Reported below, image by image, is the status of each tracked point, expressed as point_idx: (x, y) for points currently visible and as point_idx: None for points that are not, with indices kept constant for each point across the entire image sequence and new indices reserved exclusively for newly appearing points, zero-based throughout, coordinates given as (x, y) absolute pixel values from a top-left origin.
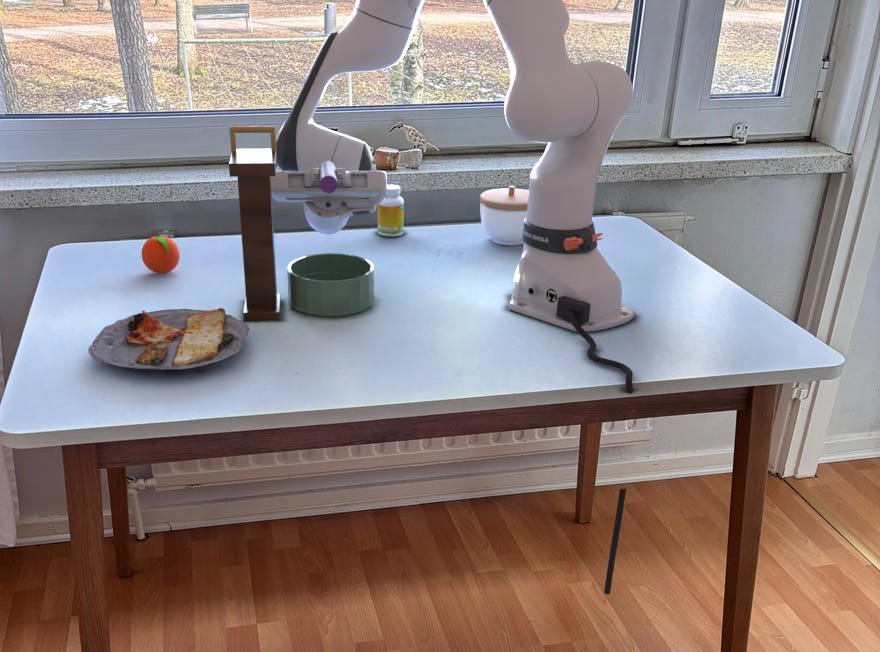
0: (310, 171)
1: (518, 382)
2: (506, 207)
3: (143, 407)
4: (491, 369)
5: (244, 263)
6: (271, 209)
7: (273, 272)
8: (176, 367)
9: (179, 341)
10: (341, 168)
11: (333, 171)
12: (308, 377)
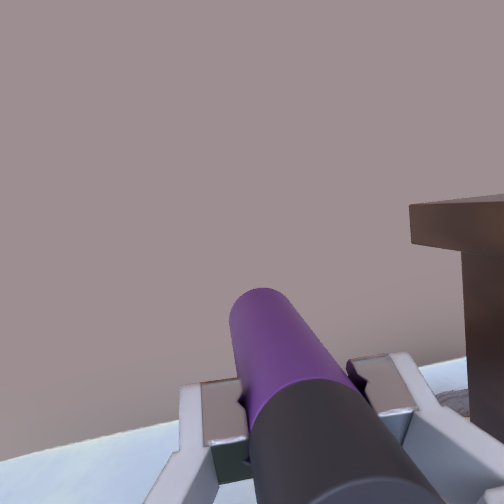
0: (442, 410)
1: (16, 471)
2: None
3: (439, 381)
4: (27, 496)
5: None
6: (480, 384)
7: None
8: (445, 395)
9: None
10: (202, 383)
11: (248, 335)
12: None
